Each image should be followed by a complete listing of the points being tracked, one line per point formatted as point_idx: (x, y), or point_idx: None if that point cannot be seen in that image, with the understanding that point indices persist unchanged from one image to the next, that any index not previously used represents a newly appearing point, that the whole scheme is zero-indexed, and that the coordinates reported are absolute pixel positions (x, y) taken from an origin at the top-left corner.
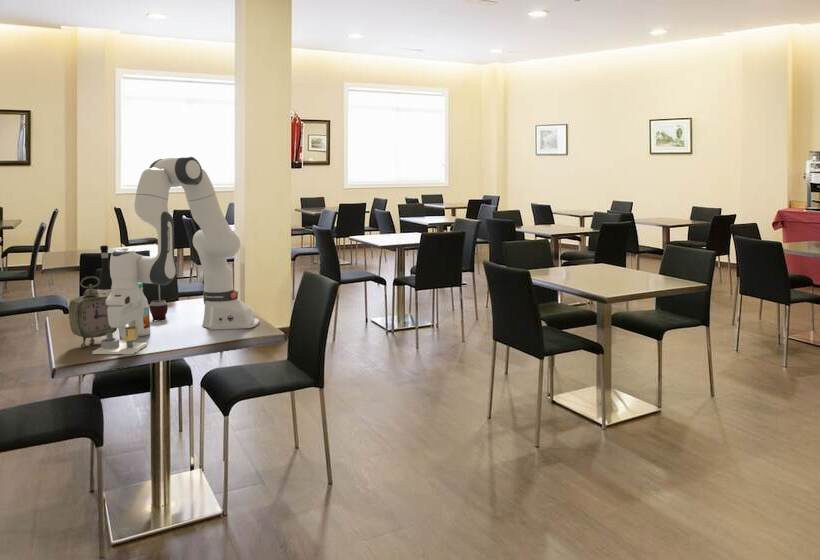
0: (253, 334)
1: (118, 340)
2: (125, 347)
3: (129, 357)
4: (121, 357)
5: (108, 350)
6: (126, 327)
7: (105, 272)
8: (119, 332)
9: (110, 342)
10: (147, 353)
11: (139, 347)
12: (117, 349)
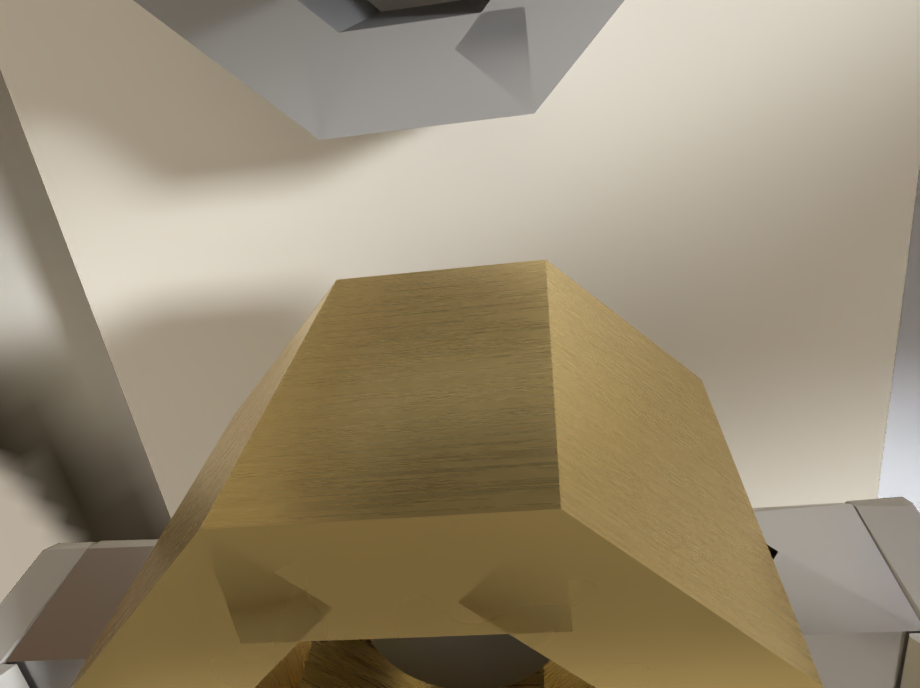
0: None
1: (500, 110)
2: None
3: (85, 533)
4: (31, 421)
5: (87, 38)
6: (600, 670)
7: None
8: (244, 433)
9: (171, 16)
10: None
11: None
12: (235, 213)
